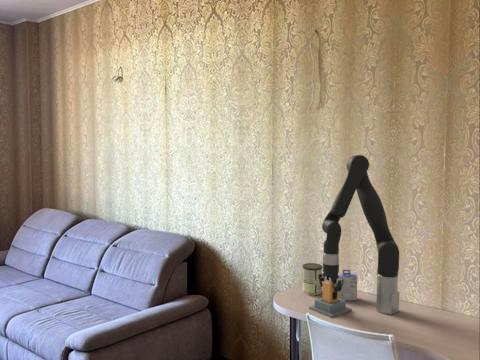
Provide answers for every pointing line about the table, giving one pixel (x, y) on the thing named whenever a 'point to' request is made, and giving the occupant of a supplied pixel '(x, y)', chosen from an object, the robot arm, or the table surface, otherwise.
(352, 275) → the ink cartridge box
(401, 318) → the table surface
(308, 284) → the coffee can
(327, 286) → the connector plug
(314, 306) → the holder
